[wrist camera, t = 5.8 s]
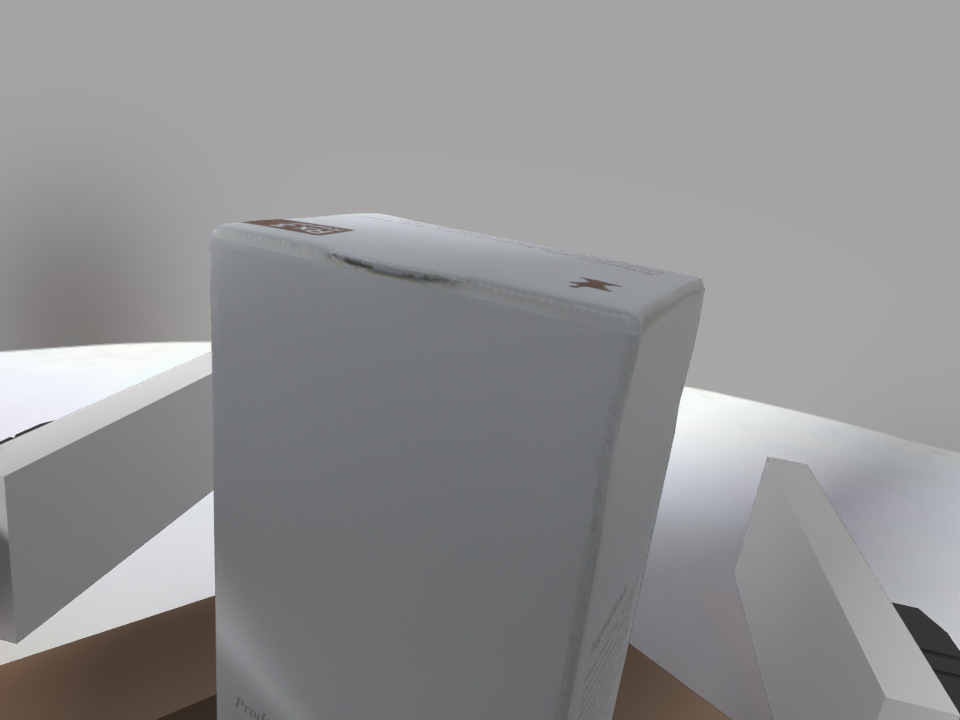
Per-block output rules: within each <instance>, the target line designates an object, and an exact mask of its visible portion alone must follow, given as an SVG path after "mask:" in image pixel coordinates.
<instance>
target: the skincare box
mask: <svg viewBox="0 0 960 720" xmlns="http://www.w3.org/2000/svg"><path fill="white" fill-rule="evenodd" d="M209 251H210V297H211V329H212V330H211V333H212V334H211V336H212V337H211V338H212V404H213V471H214V544H215V606H216V686H217V720H612V716H613V712H614V708H615V703H616V698H617V694H618V689H619V684H620V680H621V676H622V671H623V667H624V663H625V658H626V654H627V649H628V644H629V639H630V634H631V630H632V625H633V621H634V616H635V611H636V607H637V602H638V598H639V593H640V588H641V584H642V579H643V575H644V570H645V566H646V561H647V557H648V552H649V547H650V543H651V538H652V534H653V530H654V525H655V521H656V516H657V510H658V506H659V502H660V498H661V493H662V488H663V484H664V479H665V475H666V471H667V466H668V462H669V457H670V452H671V447H672V443H673V438H674V433H675V427H676V421H677V414H678V408H679V403H680V398H681V395H682V391H683V387H684V384H685V380H686V376H687V372H688V368H689V364H690V360H691V356H692V352H693V348H694V343H695V338H696V334H697V329H698V325H699V320H700V314H701V308H702V302H703V296H704V291H705V289H704V285H703V281H702V279H700V278H697V277H693V276H688V275H683V274H678V273H672V272H668V271H663V270H658V269H653V268H649V267H644V266H639V265H634V264H630V263H625V262H620V261H615V260H611V259H606V258H601V257H596V256H591V255H587V254H581V253H576V252H571V251H566V250H561V249H556V248H551V247H546V246H541V245H536V244H531V243H526V242H521V241H516V240H510V239H505V238H500V237H494V236H489V235H484V234H479V233H474V232H469V231H463V230H458V229H453V228H448V227H443V226H438V225H432V224H427V223H422V222H417V221H412V220H407V219H403V218H399V217H394V216H390V215H385V214H374V213H373V214H372V213H363V214H345V215H335V216H323V217H310V218H294V219H277V220H260V221H251V222H240V223H229V224H223V225H221V226H218V227H216V228H215V229H214V230H213V232H212V234H211V236H210V245H209Z"/></svg>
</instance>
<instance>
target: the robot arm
mask: <svg viewBox="0 0 960 720" xmlns="http://www.w3.org/2000/svg"><path fill="white" fill-rule="evenodd" d="M213 490H214V471H213V404H212V351H211V352H209V353H206V354H204V355H202V356H200V357H197V358H195V359H193V360H191V361H188V362H186V363H184V364H182V365H179V366H177V367H175V368H172V369H170V370H168V371H166V372H163V373H161V374H159V375H157V376H154V377H152V378H150V379H148V380H145V381H143V382H141V383H139V384H136V385H134V386H132V387H130V388H127V389H125V390H123V391H121V392H118V393H116V394H114V395H112V396H109V397H107V398H105V399H103V400H100V401H98V402H96V403H93V404H91V405H89V406H87V407H84V408H82V409H80V410H78V411H75V412H73V413H71V414H69V415H66V416H64V417H62V418H60V419H57V420H55V421H50V422H46V423H42V424H39V425H37V426H35V427H32V428H30V429H28V430H25V431H23V432H21V433H19V434H16V435H15V438H12V437H9V438H7V439H5V440H3V441H0V639H1V640H4V641H8V642H11V643H15V644H17V643H18V642H20V641H21V640H22V639H24V638H25V637H26V636H27V635H29V634H30V633H31V632H33V631H34V630H35V629H36V628H38V627H39V626H40V625H42V624H43V623H44V622H45V621H47V620H48V619H49V618H50V617H52V616H53V615H54V614H56V613H57V612H58V611H59V610H61V609H62V608H63V607H65V606H66V605H67V604H68V603H70V602H71V601H72V600H73V599H75V598H76V597H77V596H79V595H80V594H81V593H82V592H84V591H85V590H86V589H88V588H89V587H90V586H91V585H93V584H94V583H95V582H96V581H98V580H99V579H100V578H102V577H103V576H104V575H105V574H107V573H108V572H109V571H111V570H112V569H113V568H114V567H116V566H117V565H118V564H119V563H121V562H122V561H123V560H125V559H126V558H127V557H128V556H130V555H131V554H132V553H134V552H135V551H136V550H137V549H139V548H140V547H141V546H142V545H144V544H145V543H146V542H148V541H149V540H150V539H151V538H153V537H154V536H155V535H157V534H158V533H159V532H160V531H162V530H163V529H164V528H166V527H167V526H168V525H169V524H171V523H172V522H173V521H174V520H176V519H177V518H178V517H180V516H181V515H182V514H183V513H185V512H186V511H187V510H189V509H190V508H191V507H192V506H194V505H195V504H196V503H197V502H199V501H200V500H201V499H203V498H204V497H205V496H206V495H208V494H209V493H210V492H212V491H213ZM734 577H735V580H736V584H737V588H738V592H739V595H740V599H741V603H742V607H743V610H744V614H745V618H746V621H747V625H748V629H749V633H750V636H751V640H752V644H753V648H754V651H755V655H756V659H757V663H758V666H759V670H760V674H761V678H762V681H763V685H764V689H765V692H766V696H767V700H768V704H769V707H770V711H771V715H772V719H773V720H960V651H959V649H958V648H957V646H956V645H955V643H954V642H953V641H952V639H951V638H950V636H949V635H948V633H947V632H945V631H944V630H943V629H942V628H941V627H939V626H938V625H937V624H936V623H935V622H934V621H932V620H931V619H930V618H929V617H928V616H927V615H925V614H924V613H923V612H922V611H921V610H919V609H918V608H914V607H909V606H905V605H901V604H896V603H892V602H891V601H890V599H889V598H888V596H887V595H886V593H885V591H884V590H883V588H882V586H881V585H880V583H879V582H878V580H877V578H876V577H875V575H874V573H873V572H872V570H871V568H870V567H869V565H868V564H867V562H866V560H865V559H864V557H863V555H862V554H861V552H860V551H859V549H858V547H857V546H856V544H855V542H854V541H853V539H852V537H851V536H850V534H849V533H848V531H847V529H846V528H845V526H844V524H843V523H842V521H841V520H840V518H839V516H838V515H837V513H836V511H835V510H834V508H833V506H832V505H831V503H830V502H829V500H828V498H827V497H826V495H825V493H824V492H823V490H822V489H821V487H820V485H819V484H818V482H817V480H816V479H815V477H814V475H813V474H812V472H811V471H810V469H809V467H808V466H807V465H805V464H800V463H795V462H790V461H785V460H781V459H776V458H771V457H767V460H766V464H765V467H764V471H763V474H762V477H761V481H760V484H759V488H758V491H757V495H756V498H755V501H754V505H753V508H752V512H751V515H750V519H749V522H748V526H747V529H746V532H745V536H744V539H743V543H742V546H741V550H740V553H739V556H738V560H737V563H736V567H735V570H734Z"/></svg>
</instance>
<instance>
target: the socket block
mask: <svg viewBox="0 0 960 720" xmlns="http://www.w3.org/2000/svg"><path fill="white" fill-rule="evenodd" d="M0 720H217V686H216V606H215V596H212V597H209V598H206V599H203V600H200V601H197V602H194V603H191V604H188V605H185V606H182V607H178V608H175V609H172V610H169V611H166V612H163V613H160V614H157V615H154V616H151V617H148V618H145V619H142V620H139V621H135V622H132V623H129V624H126V625H123V626H120V627H117V628H114V629H111V630H108V631H105V632H102V633H99V634H95V635H92V636H89V637H86V638H83V639H80V640H77V641H74V642H71V643H68V644H65V645H62V646H59V647H56V648H52V649H49V650H46V651H43V652H40V653H37V654H34V655H31V656H28V657H25V658H22V659H19V660H16V661H13V662H9V663H6V664H3V665H0ZM612 720H731V719H730V718H729V717H727V716H726V715H725V714H723V713H722V712H721V711H719V710H718V709H717V708H715V707H714V706H713V705H711V704H710V703H709V702H707V701H706V700H705V699H703V698H702V697H700V696H699V695H698V694H696V693H695V692H694V691H692V690H691V689H690V688H688V687H687V686H686V685H684V684H683V683H682V682H680V681H679V680H678V679H676V678H675V677H674V676H672V675H671V674H670V673H668V672H667V671H666V670H664V669H663V668H661V667H660V666H659V665H657V664H656V663H655V662H653V661H652V660H651V659H649V658H648V657H647V656H645V655H644V654H643V653H641V652H640V651H639V650H637V649H636V648H635V647H633V646H632V645H631V644H628V649H627V654H626V658H625V663H624V667H623V671H622V676H621V680H620V684H619V689H618V694H617V698H616V703H615V708H614V712H613V716H612Z"/></svg>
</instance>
